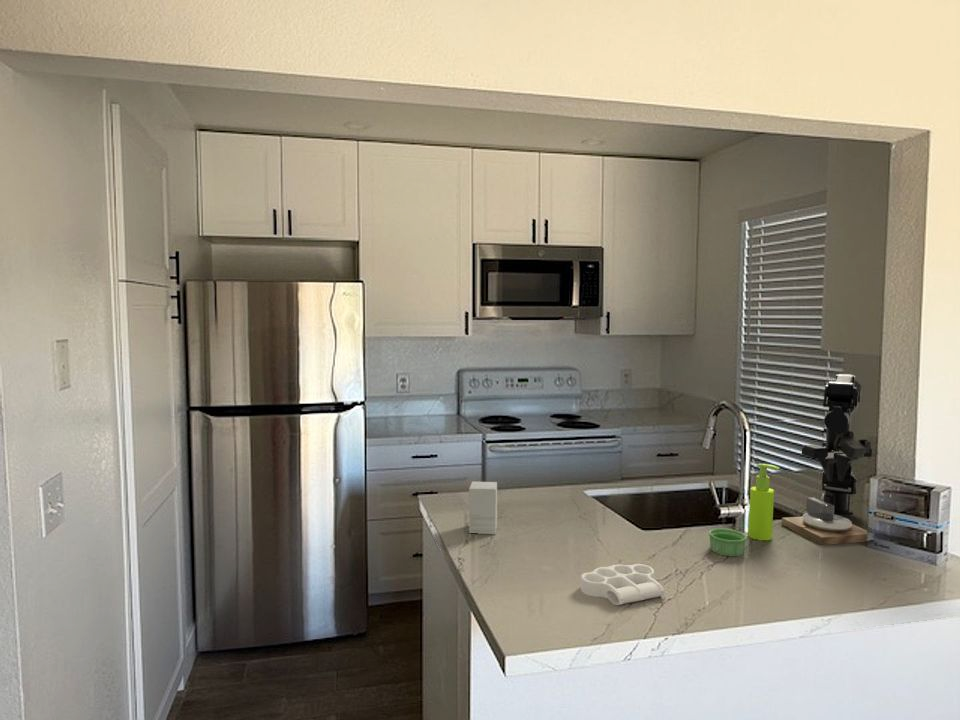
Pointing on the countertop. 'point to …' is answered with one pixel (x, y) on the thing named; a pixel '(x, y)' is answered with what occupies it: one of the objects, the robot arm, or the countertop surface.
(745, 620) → the countertop surface
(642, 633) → the countertop surface
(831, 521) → the dial
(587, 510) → the countertop surface
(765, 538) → the soap dispenser
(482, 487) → the supplement box
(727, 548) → the ramekin
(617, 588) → the white brass knuckles
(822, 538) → the dial base
